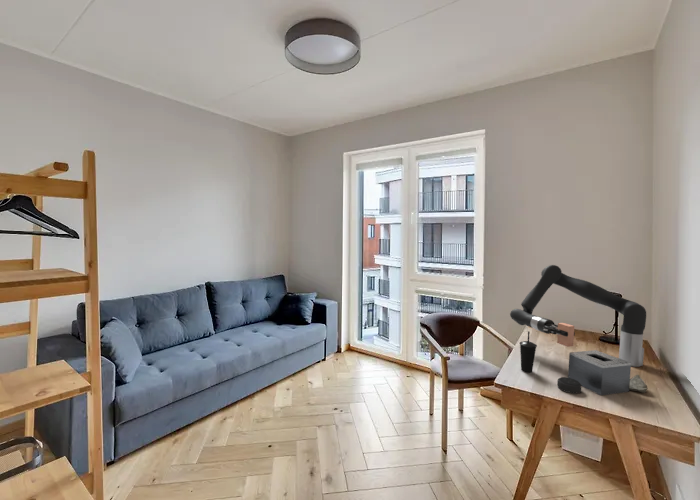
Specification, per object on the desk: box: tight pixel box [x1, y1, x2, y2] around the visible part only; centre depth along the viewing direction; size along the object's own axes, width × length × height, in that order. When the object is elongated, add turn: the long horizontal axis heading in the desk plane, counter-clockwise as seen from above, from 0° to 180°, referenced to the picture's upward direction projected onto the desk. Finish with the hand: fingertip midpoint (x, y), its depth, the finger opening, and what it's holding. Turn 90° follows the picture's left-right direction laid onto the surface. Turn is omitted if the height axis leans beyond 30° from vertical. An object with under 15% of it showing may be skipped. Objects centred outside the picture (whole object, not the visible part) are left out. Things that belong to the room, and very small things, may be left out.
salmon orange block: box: [556, 322, 575, 348], centre depth 166 cm, size 6×4×10 cm, turn 15°
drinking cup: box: [519, 331, 538, 374], centre depth 167 cm, size 8×8×20 cm
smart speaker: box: [556, 376, 582, 394], centre depth 148 cm, size 9×9×4 cm
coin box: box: [567, 349, 632, 396], centre depth 153 cm, size 16×16×13 cm
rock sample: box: [629, 374, 649, 394], centre depth 150 cm, size 10×8×9 cm
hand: (570, 334), depth 163 cm, fingers closed on salmon orange block, 3 cm apart
